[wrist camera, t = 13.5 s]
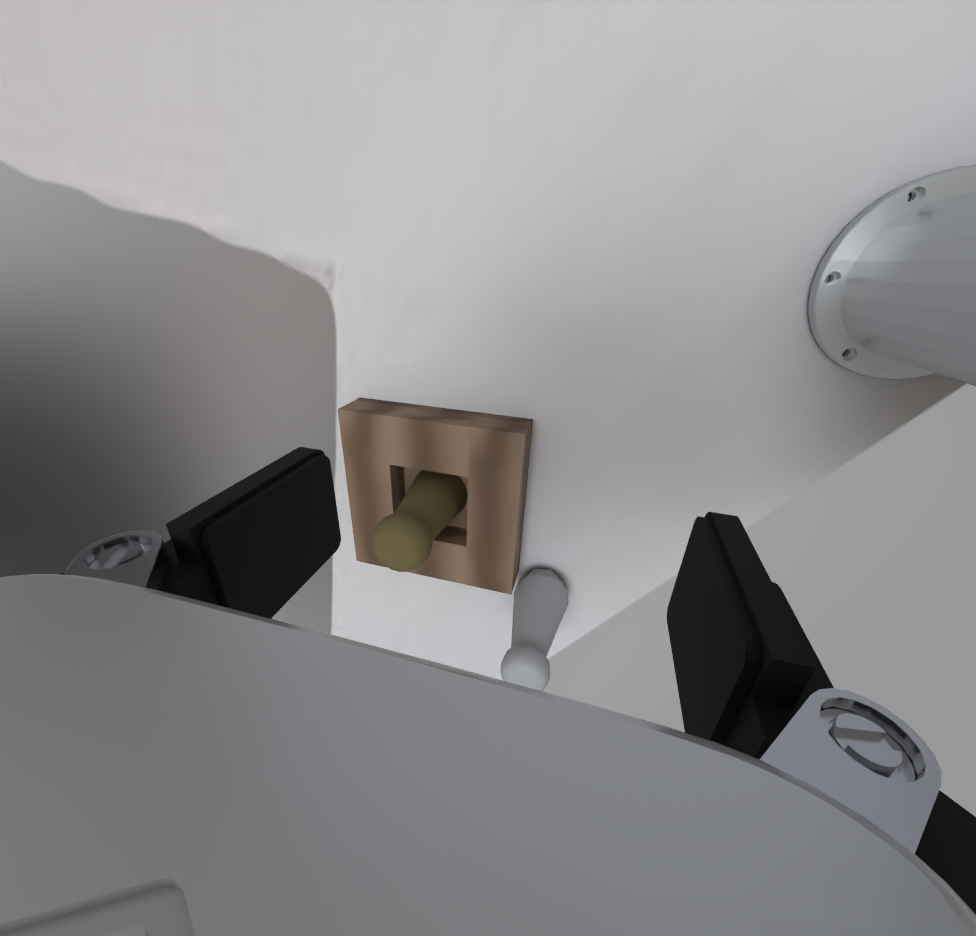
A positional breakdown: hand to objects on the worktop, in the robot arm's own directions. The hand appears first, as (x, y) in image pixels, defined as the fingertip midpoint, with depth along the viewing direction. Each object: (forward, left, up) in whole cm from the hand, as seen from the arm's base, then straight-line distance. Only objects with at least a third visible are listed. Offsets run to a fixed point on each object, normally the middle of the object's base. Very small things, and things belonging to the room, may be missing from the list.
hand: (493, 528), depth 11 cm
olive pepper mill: (+12, +16, -28) cm, 34 cm away
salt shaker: (0, +26, -28) cm, 39 cm away
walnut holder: (+12, +16, -28) cm, 35 cm away
